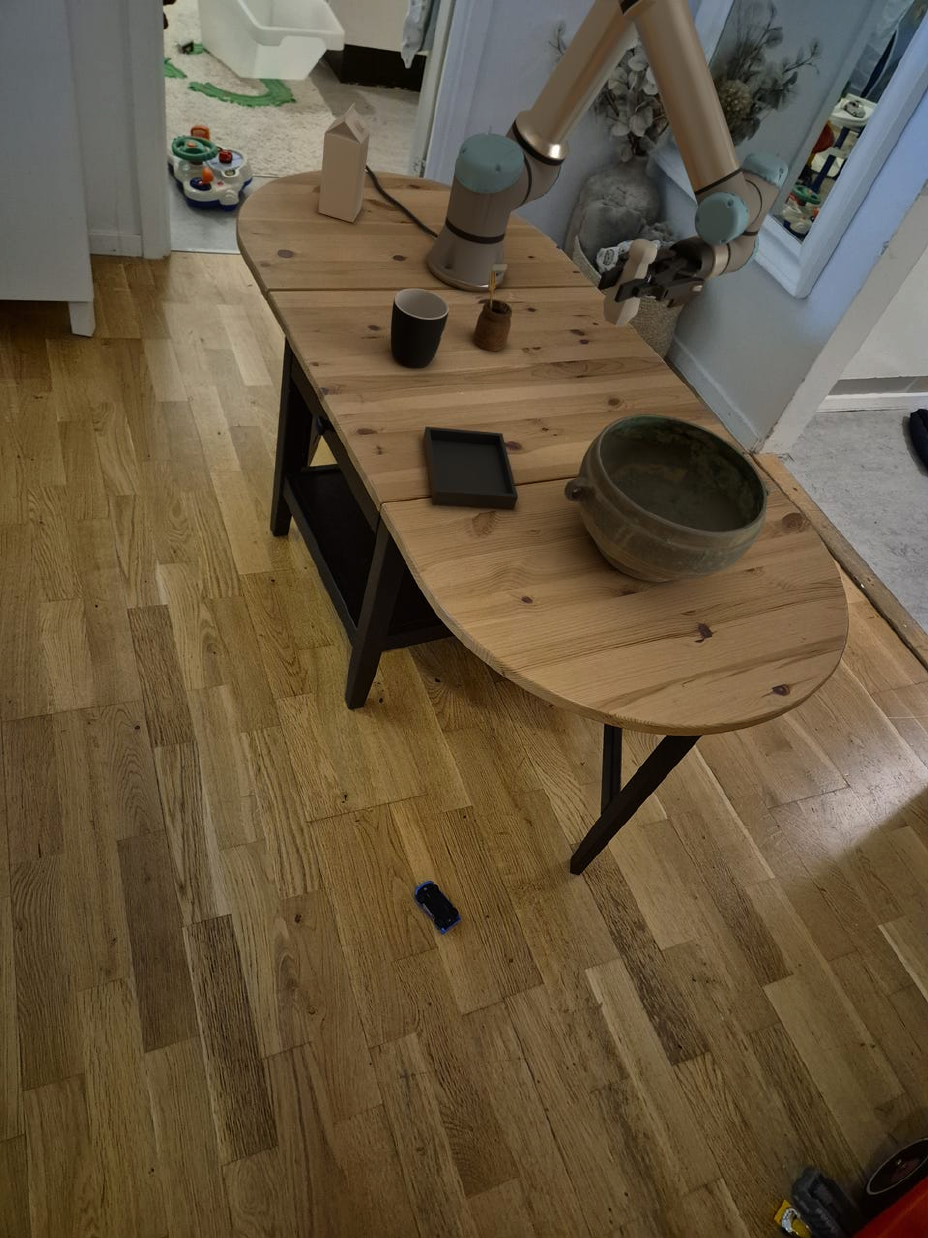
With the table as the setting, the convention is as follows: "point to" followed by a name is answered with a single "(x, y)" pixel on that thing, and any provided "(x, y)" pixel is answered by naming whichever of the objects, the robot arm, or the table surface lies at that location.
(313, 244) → the table surface
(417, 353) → the mug
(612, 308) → the salt shaker
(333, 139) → the milk carton
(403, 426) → the table surface
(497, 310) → the utensil holder
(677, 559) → the bowl
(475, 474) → the tray
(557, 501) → the table surface
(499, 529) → the table surface
